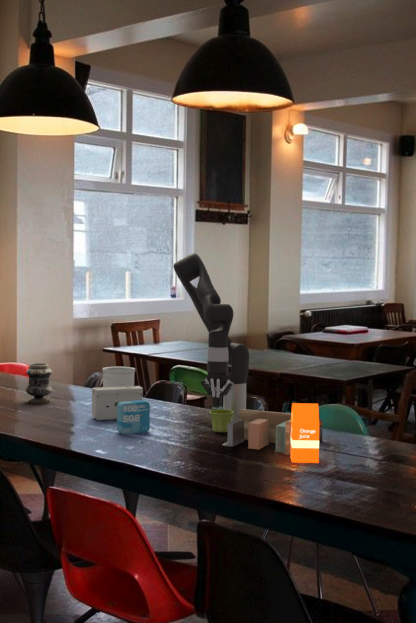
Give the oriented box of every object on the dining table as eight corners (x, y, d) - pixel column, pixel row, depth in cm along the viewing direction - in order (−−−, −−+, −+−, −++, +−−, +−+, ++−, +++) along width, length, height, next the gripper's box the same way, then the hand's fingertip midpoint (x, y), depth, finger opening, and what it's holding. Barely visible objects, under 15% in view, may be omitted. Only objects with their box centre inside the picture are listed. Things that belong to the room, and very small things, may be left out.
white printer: (139, 415, 362) (139, 369, 361) (144, 419, 354) (144, 371, 353) (91, 418, 356) (91, 371, 354) (95, 421, 348) (95, 373, 347)
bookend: (233, 440, 306) (234, 418, 306) (244, 441, 305) (244, 419, 304) (222, 445, 298) (222, 423, 297) (232, 446, 296) (232, 424, 295)
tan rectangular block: (248, 448, 294) (248, 422, 293) (258, 443, 302) (258, 418, 301) (258, 449, 292) (259, 424, 291) (268, 444, 300) (268, 419, 299)
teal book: (286, 446, 298) (286, 421, 297) (295, 447, 296) (295, 422, 295) (275, 451, 289) (275, 425, 288) (285, 453, 287) (285, 426, 287)
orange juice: (290, 460, 281) (291, 401, 280) (316, 461, 281) (317, 401, 280) (291, 466, 273) (292, 405, 272) (319, 466, 273) (320, 405, 272)
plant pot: (238, 433, 325) (238, 411, 325) (222, 437, 318) (222, 414, 318) (220, 430, 331) (220, 408, 331) (204, 433, 325) (204, 411, 324)
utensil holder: (117, 402, 396) (117, 365, 395) (141, 405, 387) (141, 367, 386) (95, 406, 384) (95, 368, 383) (120, 410, 375) (120, 371, 374)
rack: (240, 441, 310) (240, 408, 310) (304, 448, 299) (304, 414, 299) (221, 450, 296) (221, 415, 295) (288, 457, 285) (288, 422, 284)
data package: (121, 434, 321) (121, 403, 320) (116, 432, 325) (116, 401, 324) (149, 432, 327) (150, 401, 326) (145, 430, 331) (145, 399, 330)
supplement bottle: (323, 443, 309) (324, 412, 308) (320, 446, 303) (321, 415, 303) (307, 442, 311) (308, 411, 310) (304, 445, 305) (304, 414, 305)
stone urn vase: (49, 404, 389) (49, 365, 388) (23, 403, 389) (23, 365, 388) (54, 399, 401) (54, 362, 400) (29, 399, 401) (28, 362, 400)
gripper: (196, 359, 302) (195, 407, 303) (230, 361, 296) (229, 410, 297) (206, 357, 308) (205, 404, 309) (239, 359, 303) (238, 407, 303)
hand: (217, 407), depth 303 cm, fingers closed
